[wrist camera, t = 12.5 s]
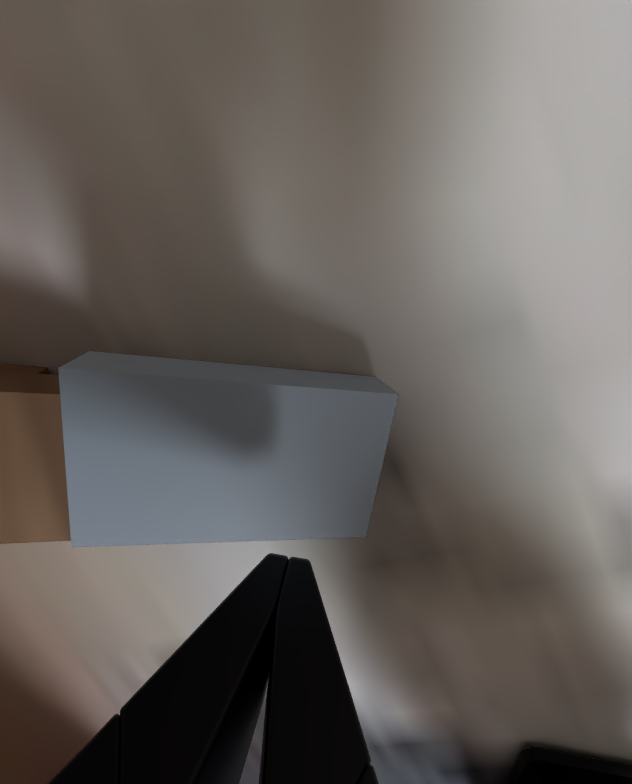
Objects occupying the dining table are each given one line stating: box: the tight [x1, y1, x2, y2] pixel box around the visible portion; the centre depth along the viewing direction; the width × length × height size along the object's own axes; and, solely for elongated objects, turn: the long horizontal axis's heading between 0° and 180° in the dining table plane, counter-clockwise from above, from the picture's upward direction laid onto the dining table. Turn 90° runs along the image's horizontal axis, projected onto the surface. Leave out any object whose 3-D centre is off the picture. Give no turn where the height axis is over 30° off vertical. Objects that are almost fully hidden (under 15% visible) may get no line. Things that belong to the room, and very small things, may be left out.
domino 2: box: [58, 351, 399, 547], centre depth 9 cm, size 2×4×8 cm
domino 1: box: [0, 372, 71, 544], centre depth 10 cm, size 2×4×8 cm
